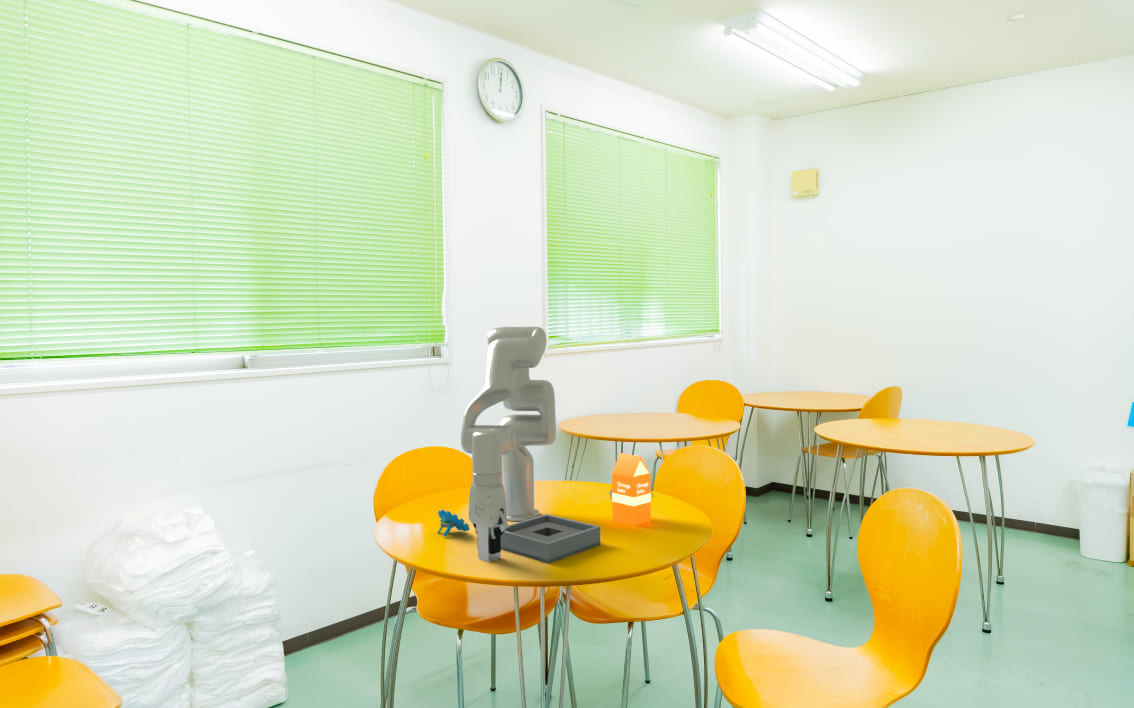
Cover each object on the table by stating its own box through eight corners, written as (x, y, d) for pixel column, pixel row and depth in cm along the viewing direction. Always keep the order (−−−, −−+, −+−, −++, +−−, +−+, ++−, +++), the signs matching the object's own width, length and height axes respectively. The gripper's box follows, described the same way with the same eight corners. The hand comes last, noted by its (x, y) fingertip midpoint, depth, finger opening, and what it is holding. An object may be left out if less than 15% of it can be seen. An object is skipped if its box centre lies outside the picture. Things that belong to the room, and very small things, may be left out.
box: (494, 548, 189) (494, 529, 188) (547, 531, 203) (546, 514, 203) (548, 564, 175) (547, 544, 175) (600, 545, 190) (600, 526, 190)
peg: (478, 559, 179) (477, 524, 179) (490, 555, 182) (489, 521, 182) (488, 563, 177) (487, 527, 176) (500, 559, 180) (499, 523, 179)
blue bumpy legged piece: (477, 528, 199) (451, 507, 195) (466, 546, 196) (440, 526, 192) (457, 527, 208) (432, 507, 204) (446, 544, 205) (421, 525, 201)
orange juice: (629, 516, 219) (628, 451, 218) (651, 521, 212) (650, 455, 211) (611, 521, 213) (611, 454, 212) (633, 526, 207) (633, 458, 206)
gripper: (455, 477, 182) (456, 548, 182) (498, 486, 170) (500, 562, 171) (477, 472, 187) (479, 541, 188) (521, 481, 176) (522, 554, 176)
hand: (489, 550), depth 179 cm, fingers closed on peg, 4 cm apart
